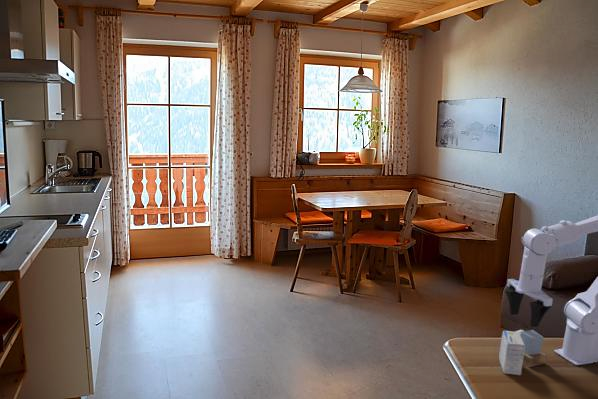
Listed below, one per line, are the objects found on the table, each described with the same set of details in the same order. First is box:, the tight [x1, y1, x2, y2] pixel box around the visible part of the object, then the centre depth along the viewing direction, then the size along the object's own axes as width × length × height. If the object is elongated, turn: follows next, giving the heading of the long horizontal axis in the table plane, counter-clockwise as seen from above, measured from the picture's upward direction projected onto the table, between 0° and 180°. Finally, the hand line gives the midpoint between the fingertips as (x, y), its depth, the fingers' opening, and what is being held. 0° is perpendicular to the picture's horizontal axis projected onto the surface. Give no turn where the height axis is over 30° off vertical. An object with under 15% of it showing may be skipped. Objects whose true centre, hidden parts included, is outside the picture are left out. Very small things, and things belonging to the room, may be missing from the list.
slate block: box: [520, 329, 544, 355], centre depth 144 cm, size 4×4×5 cm
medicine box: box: [498, 330, 525, 376], centre depth 139 cm, size 8×4×9 cm, turn 168°
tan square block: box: [522, 351, 547, 368], centre depth 145 cm, size 6×6×3 cm
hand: (523, 319), depth 145 cm, fingers open, 7 cm apart
